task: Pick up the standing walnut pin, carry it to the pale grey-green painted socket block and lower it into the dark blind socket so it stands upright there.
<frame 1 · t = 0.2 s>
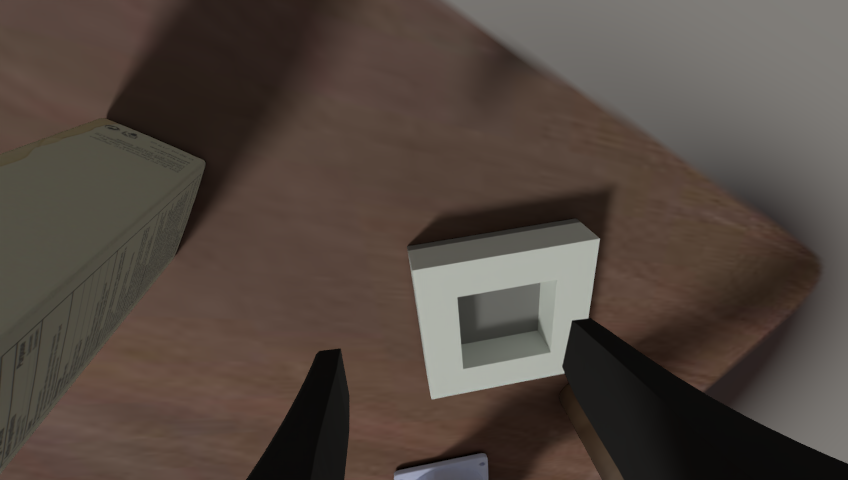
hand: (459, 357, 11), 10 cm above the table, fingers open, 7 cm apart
skincare box: (146, 195, 18), on the table
socket block: (494, 300, 24), on the table
pin: (581, 392, 30), on the table
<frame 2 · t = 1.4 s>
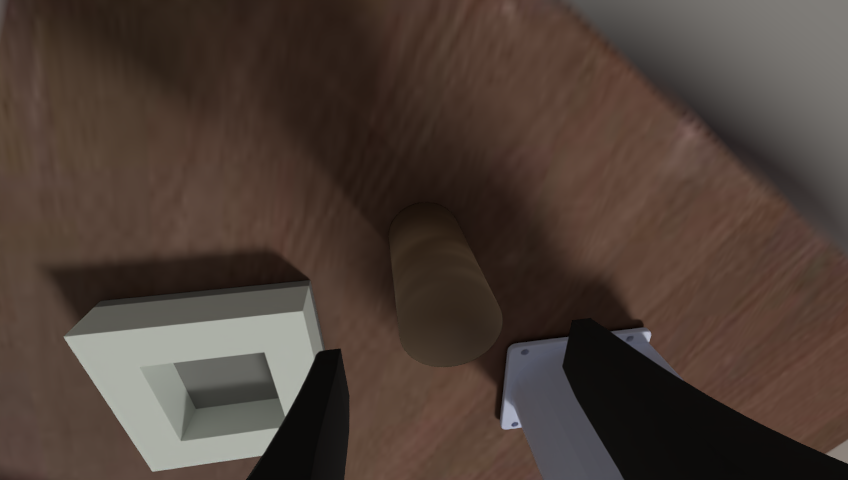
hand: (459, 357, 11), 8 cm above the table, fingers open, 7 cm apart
socket block: (235, 361, 21), on the table
pin: (424, 235, 19), on the table
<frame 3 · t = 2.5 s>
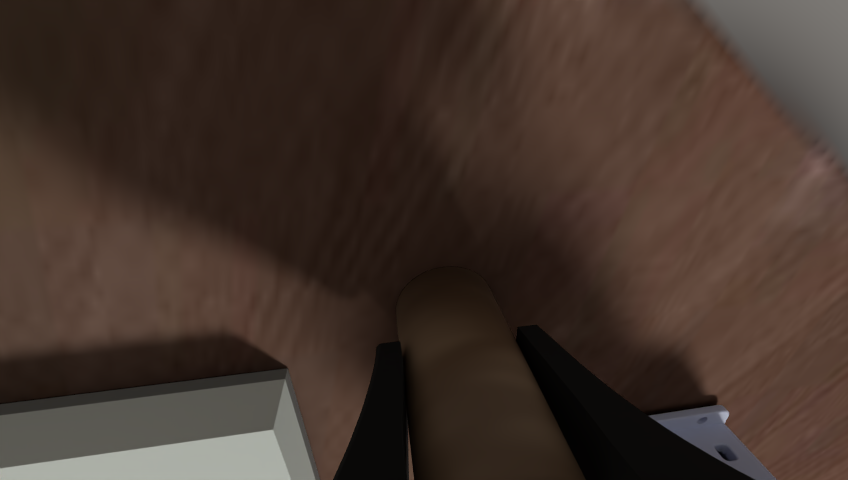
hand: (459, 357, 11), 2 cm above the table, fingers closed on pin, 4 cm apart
socket block: (190, 466, 16), on the table
pin: (444, 308, 14), on the table, touching gripper
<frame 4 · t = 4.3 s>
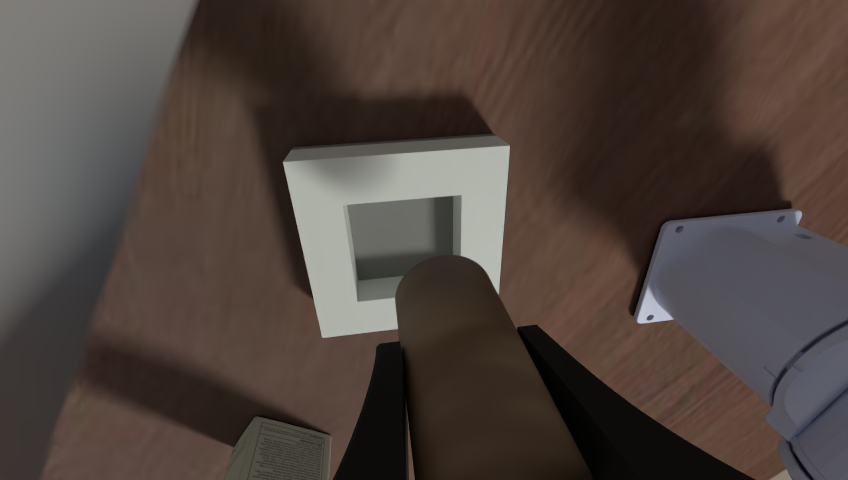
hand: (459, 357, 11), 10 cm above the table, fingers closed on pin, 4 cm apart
skincare box: (286, 438, 28), on the table
socket block: (402, 229, 21), on the table
pin: (443, 296, 14), point 8 cm above the table, touching gripper
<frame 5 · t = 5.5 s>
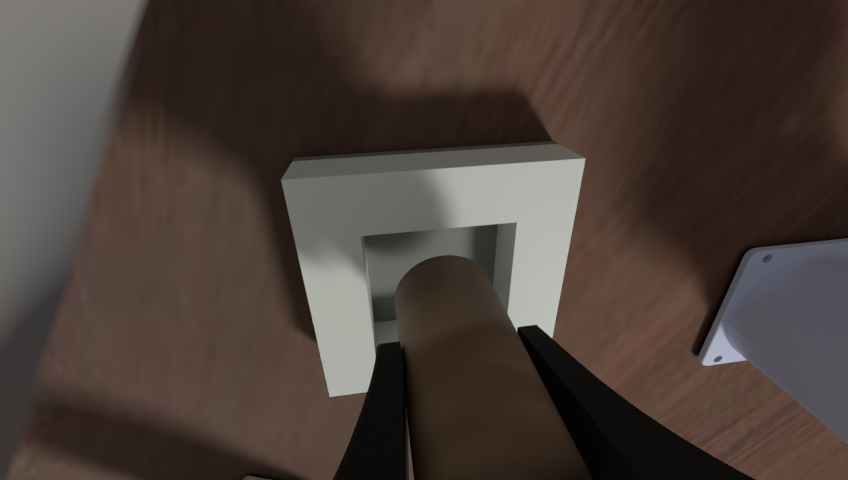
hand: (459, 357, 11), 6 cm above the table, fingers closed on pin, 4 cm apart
socket block: (431, 259, 17), on the table
pin: (443, 297, 14), point 3 cm above the table, touching gripper
when the fingers open (4 cm above the table, at t = 6.4 s): pin stays where it is, resting on socket block.
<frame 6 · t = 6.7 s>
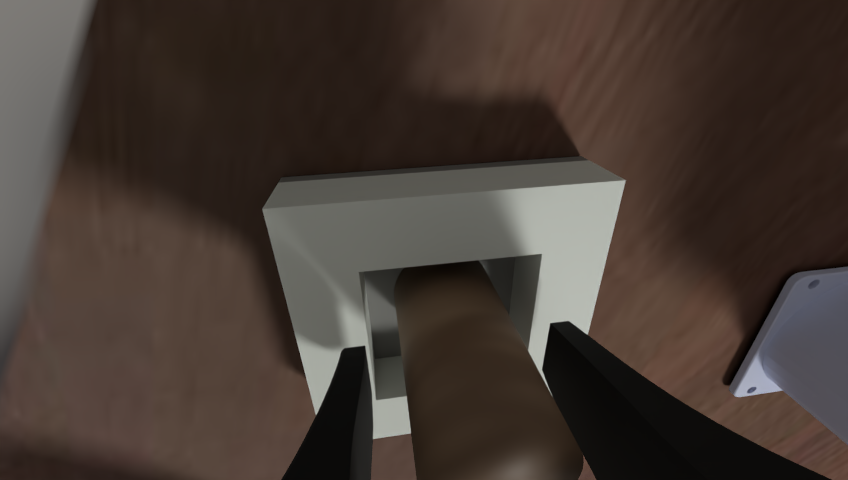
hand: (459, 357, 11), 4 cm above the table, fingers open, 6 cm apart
socket block: (439, 289, 15), on the table
pin: (441, 290, 14), point 1 cm above the table, touching socket block
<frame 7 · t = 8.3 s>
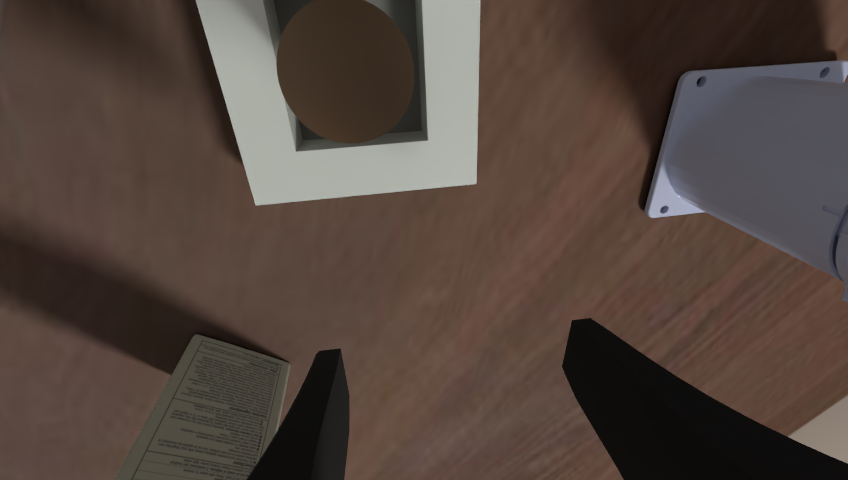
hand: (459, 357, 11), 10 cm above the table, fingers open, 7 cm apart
skincare box: (236, 366, 24), on the table
socket block: (355, 69, 17), on the table
pin: (354, 62, 16), resting on socket block
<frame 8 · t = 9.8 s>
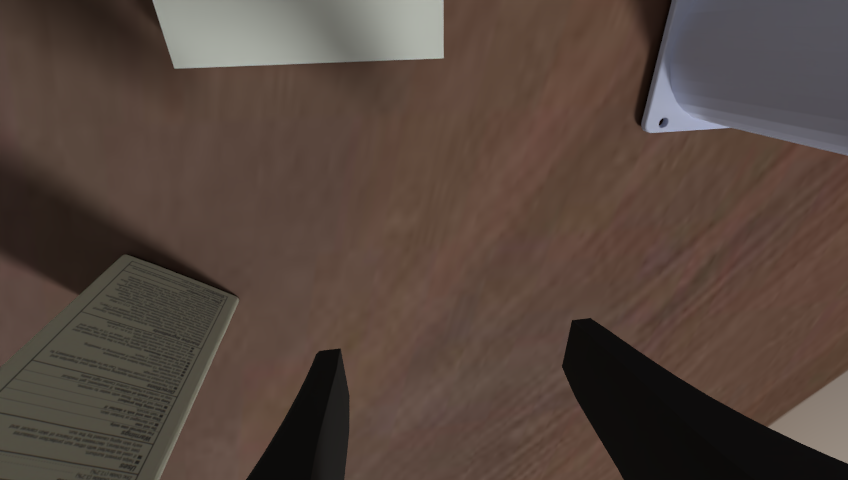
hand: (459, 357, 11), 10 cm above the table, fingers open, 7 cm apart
skincare box: (177, 299, 21), on the table
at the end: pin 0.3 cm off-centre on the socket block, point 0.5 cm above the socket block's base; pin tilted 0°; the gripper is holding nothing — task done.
